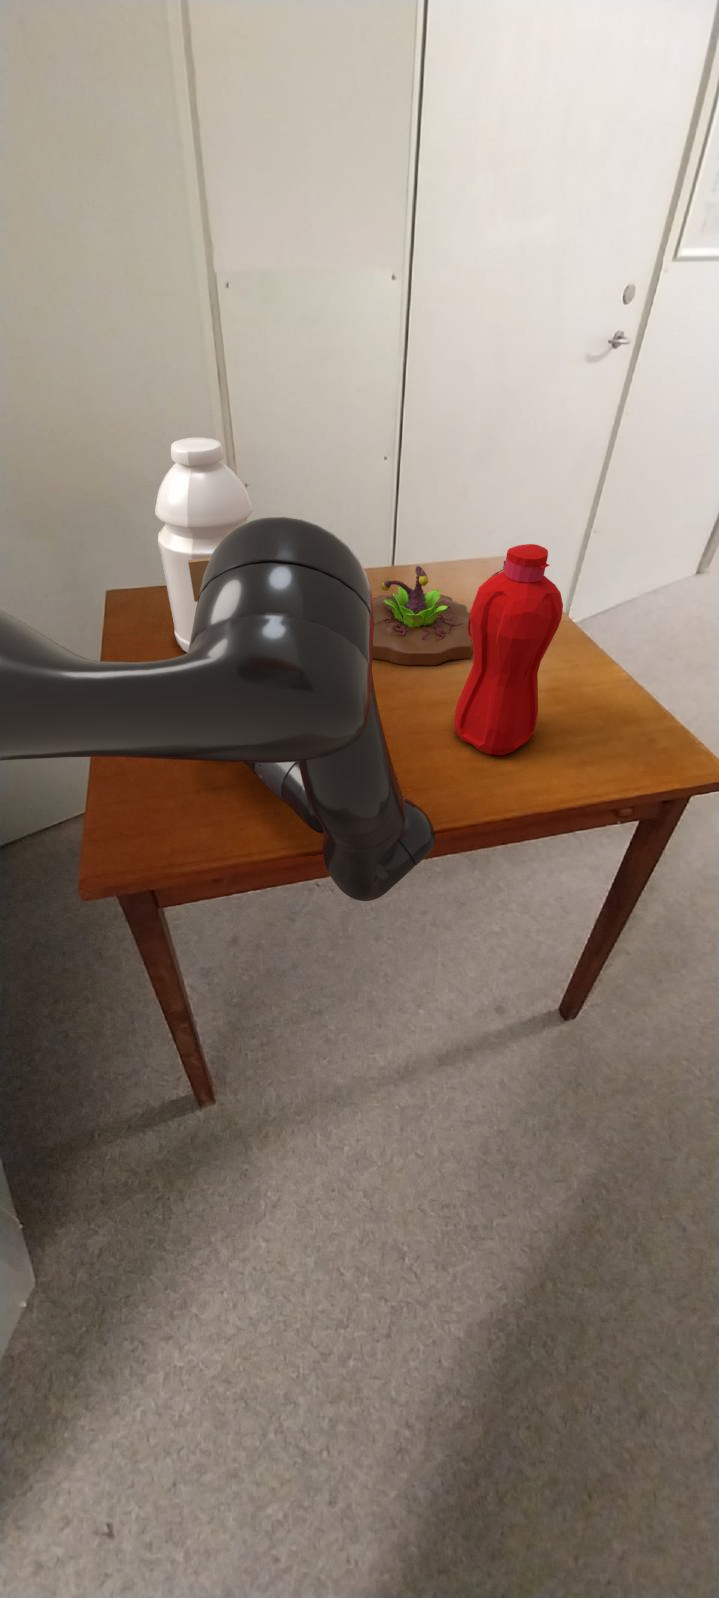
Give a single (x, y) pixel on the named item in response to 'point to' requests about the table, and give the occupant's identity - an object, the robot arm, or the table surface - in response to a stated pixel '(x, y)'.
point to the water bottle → (508, 652)
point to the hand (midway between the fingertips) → (215, 687)
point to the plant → (419, 625)
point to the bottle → (195, 519)
